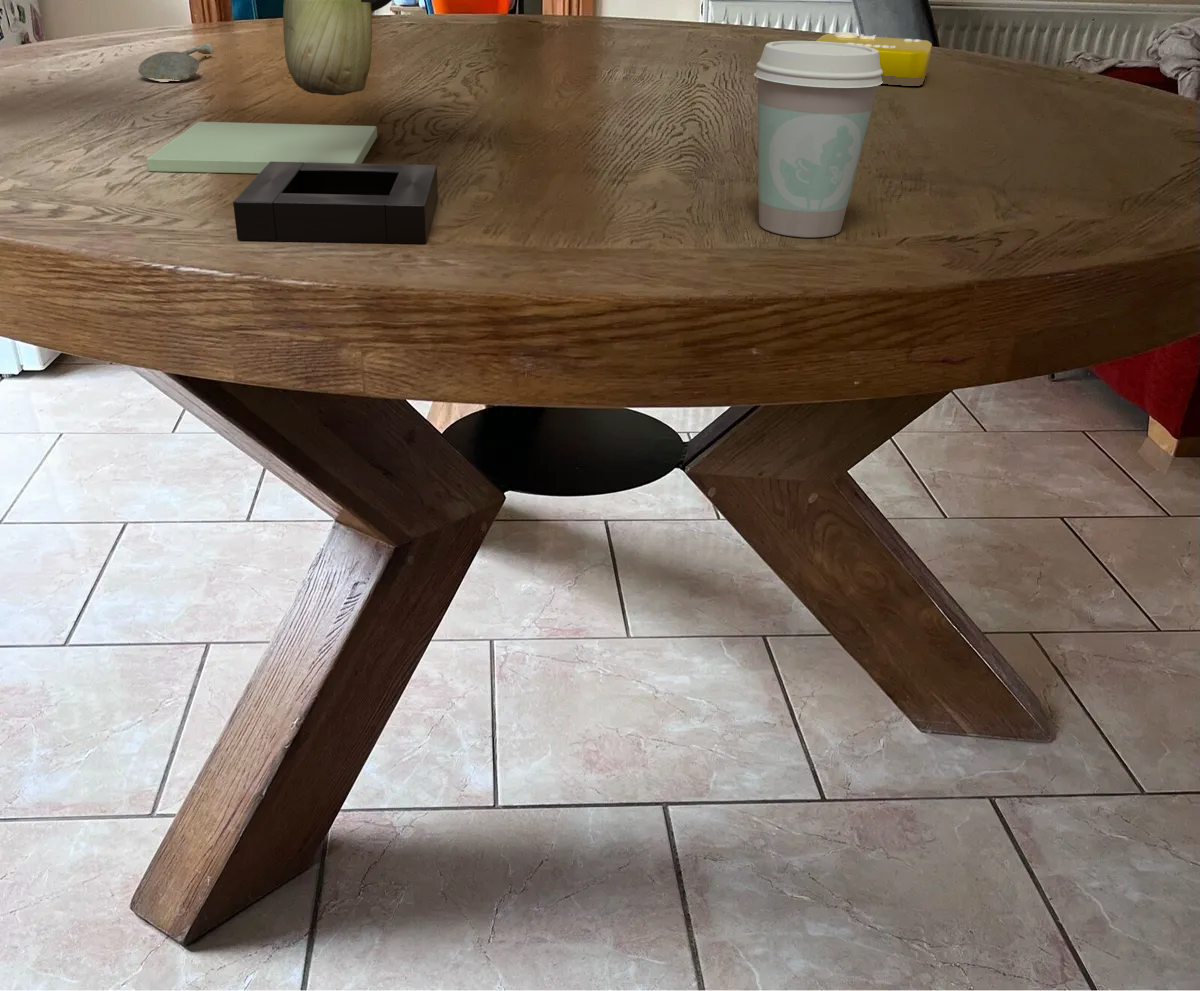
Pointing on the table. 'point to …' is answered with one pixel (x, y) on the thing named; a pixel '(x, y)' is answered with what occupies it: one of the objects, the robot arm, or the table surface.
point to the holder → (338, 203)
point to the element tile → (891, 52)
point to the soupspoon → (173, 64)
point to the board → (260, 146)
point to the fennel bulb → (328, 44)
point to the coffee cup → (811, 132)
